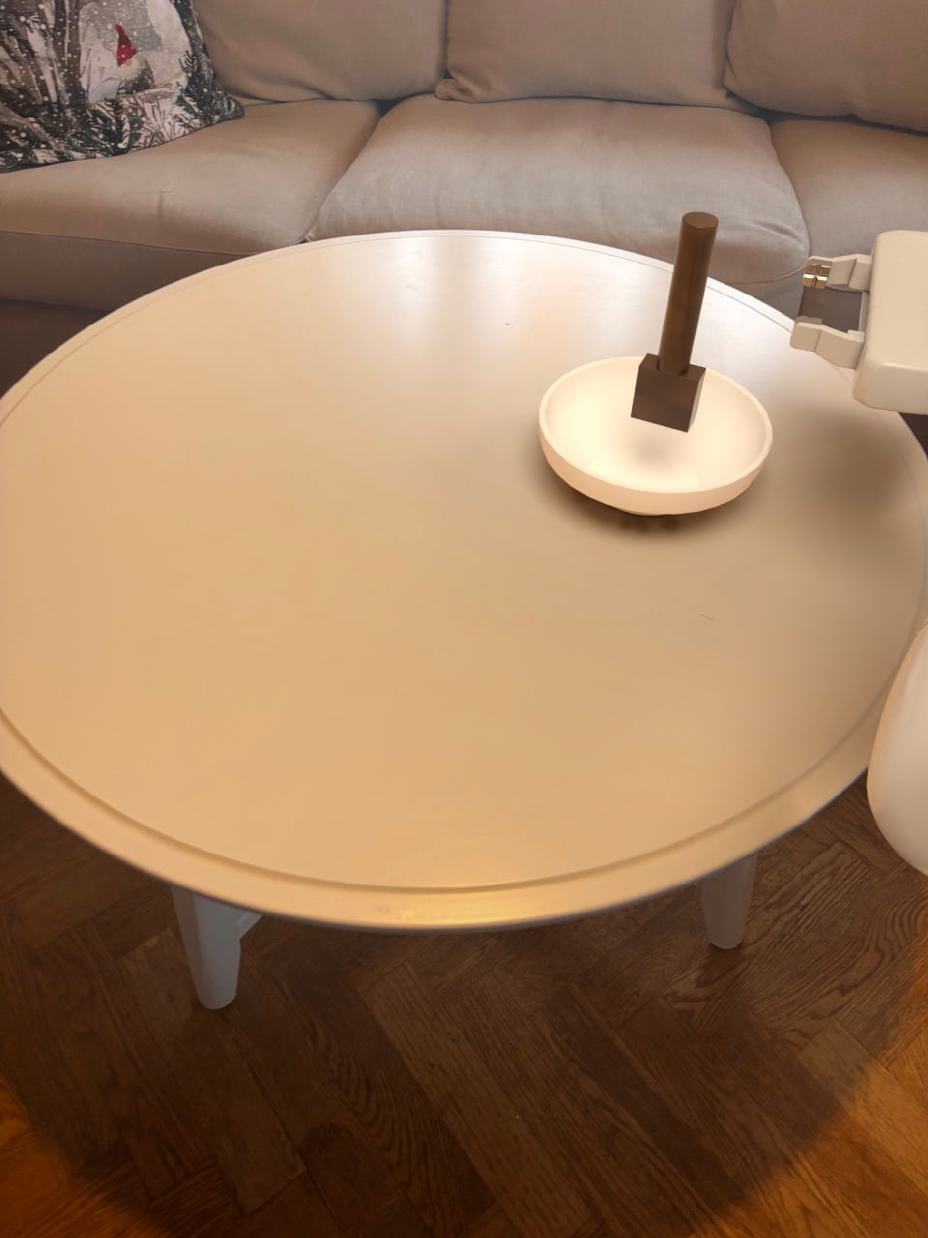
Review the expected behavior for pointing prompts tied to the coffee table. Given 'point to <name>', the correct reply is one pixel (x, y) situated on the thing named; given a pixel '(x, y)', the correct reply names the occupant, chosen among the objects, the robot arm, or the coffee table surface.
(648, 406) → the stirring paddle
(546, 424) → the bowl
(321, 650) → the coffee table surface
